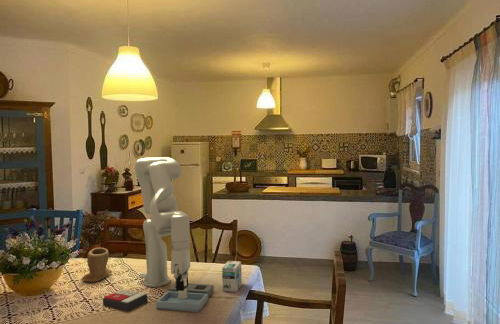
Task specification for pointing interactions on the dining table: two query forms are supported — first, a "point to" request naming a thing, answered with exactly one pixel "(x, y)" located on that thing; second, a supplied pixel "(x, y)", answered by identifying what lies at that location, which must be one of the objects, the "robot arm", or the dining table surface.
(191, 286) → the block
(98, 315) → the dining table surface
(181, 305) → the parts tray
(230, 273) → the light bulb box
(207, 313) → the dining table surface
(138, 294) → the calculator
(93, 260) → the stone cup
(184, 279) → the cylinder
